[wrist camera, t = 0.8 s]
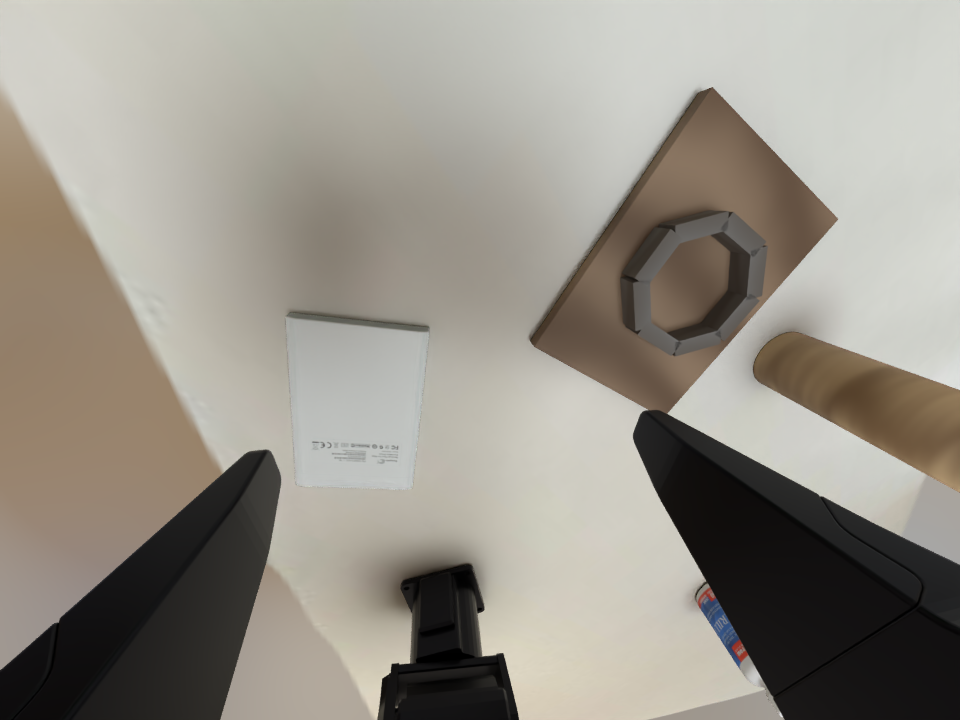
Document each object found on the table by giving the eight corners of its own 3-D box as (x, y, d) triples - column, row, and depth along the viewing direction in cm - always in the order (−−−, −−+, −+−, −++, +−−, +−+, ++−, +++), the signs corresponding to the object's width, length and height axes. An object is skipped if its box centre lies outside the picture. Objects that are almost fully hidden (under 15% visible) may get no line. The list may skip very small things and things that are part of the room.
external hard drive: (429, 324, 23) (413, 476, 27) (293, 309, 21) (301, 471, 26) (429, 332, 21) (412, 491, 26) (282, 317, 20) (293, 488, 24)
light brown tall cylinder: (802, 378, 28) (1043, 492, 17) (749, 390, 27) (958, 514, 17) (815, 326, 26) (1095, 417, 15) (758, 339, 26) (999, 440, 15)
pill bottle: (700, 577, 37) (784, 695, 28) (747, 570, 38) (844, 683, 29) (689, 609, 39) (764, 727, 31) (733, 602, 40) (819, 716, 31)
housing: (655, 410, 27) (676, 429, 25) (530, 341, 23) (541, 356, 21) (821, 218, 22) (865, 220, 20) (698, 92, 19) (735, 77, 16)
